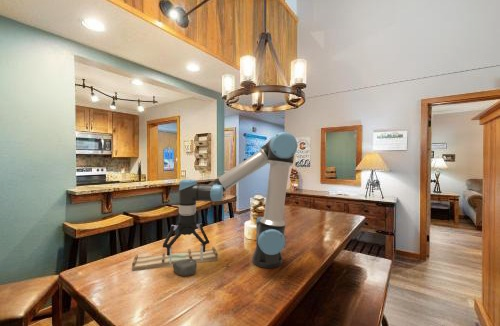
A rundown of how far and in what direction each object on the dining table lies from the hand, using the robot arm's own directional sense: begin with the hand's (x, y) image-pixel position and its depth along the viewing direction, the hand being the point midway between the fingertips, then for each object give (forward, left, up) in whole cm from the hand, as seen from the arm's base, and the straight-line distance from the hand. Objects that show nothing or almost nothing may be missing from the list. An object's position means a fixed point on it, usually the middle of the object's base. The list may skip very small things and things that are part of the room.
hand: (186, 260), depth 106 cm
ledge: (+16, +4, -6) cm, 18 cm away
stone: (+2, +1, -7) cm, 7 cm away
